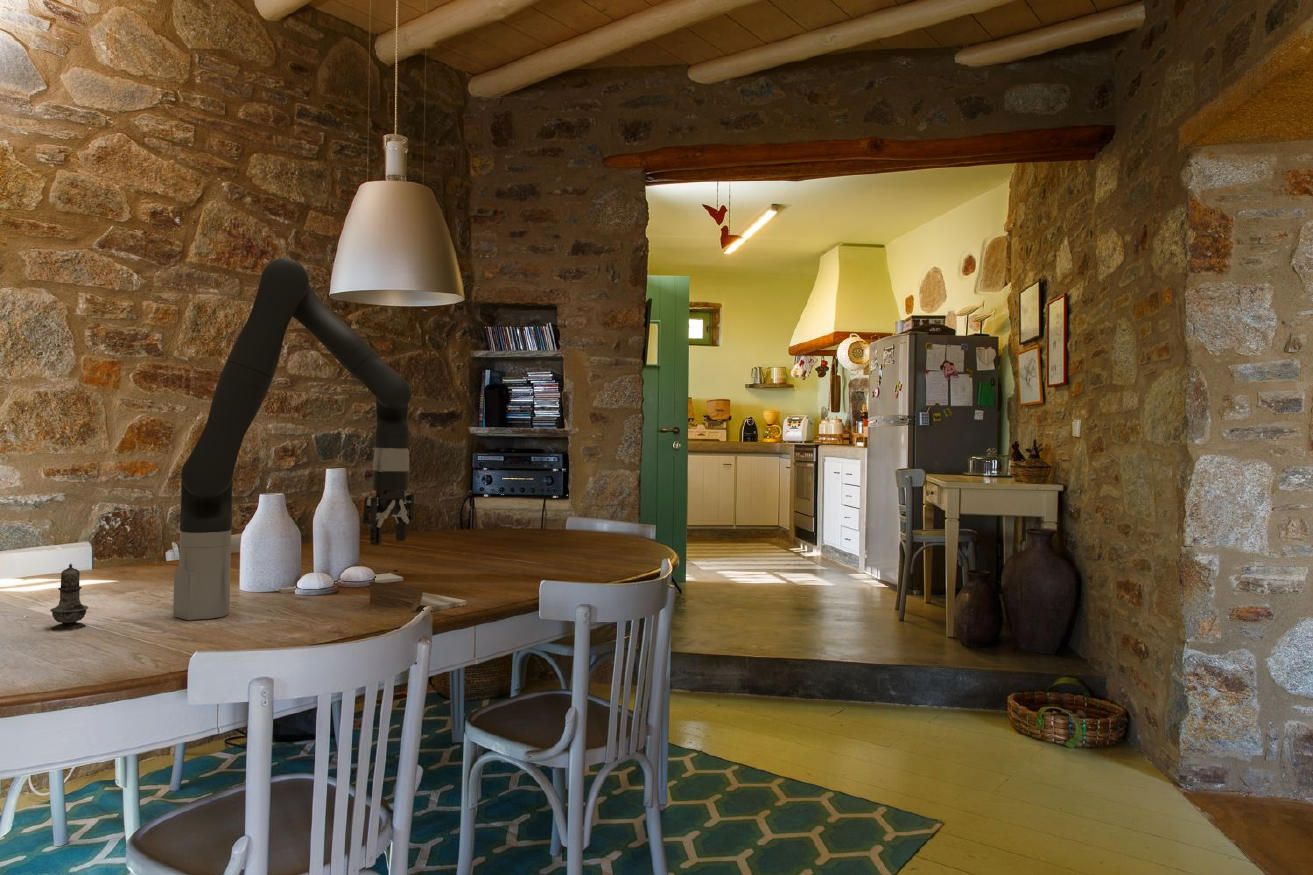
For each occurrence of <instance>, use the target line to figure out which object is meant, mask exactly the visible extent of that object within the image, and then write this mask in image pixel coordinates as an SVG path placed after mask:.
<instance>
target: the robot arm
mask: <svg viewBox="0 0 1313 875" xmlns="http://www.w3.org/2000/svg"><path fill="white" fill-rule="evenodd" d="M307 272H308V271H307V270H306V269H305V267H304V266H303V265H302V264H301V263H300V262H298V261H297V260H295V259H293V258H289V257H281V258H277V259H274V260H272V261H269V263H267V265H266V266H265V267H264V268H263V270H262V272H261V276H260V280H259V283H258V284H259V285H258V288H257V292H256V296H255V299H254V301H253V305H252V308H251V311H250V312H249V316H248V319H247V320H246V321H245V324H244V326H243V328H242V329H241V330H240V333H239V334H238V336H237V338H236V340H235V342H234V344H233V346H232V348H231V351H230V353H229V354H228V357H227V359H226V361H225V364H224V366H223V367H222V370H221V373H220V376H219V378H218V380H217V382H216V383H217V384H216V386H215V390H214V393H213V397H212V401H211V405H210V409H209V412H208V416H207V420H206V422H205V424H204V428H203V430H202V431H201V435H200V436H199V438H198V439H197V442H196V444H195V446H194V448H193V449H192V451H191V452H190V454H189V456H188V458H187V459H186V460H185V461H184V463H183V465H182V467H181V471H180V478H181V480H180V481H181V483H180V484H181V489H180V492H181V493H180V514H179V515H180V516H179V548H178V549H179V553H178V554H179V555H178V557H179V558H178V561H179V562H178V568H177V567H176V568H175V569H174V572H173V574H174V575H173V609H172V611H173V612H172V614H173V615H172V617H175V618H178V619H181V620H186V621H195V620H210V619H217V618H222V617H226V616H228V615H229V614H230V606H231V602H230V600H231V599H230V598H231V596H230V592H231V560H232V559H231V558H232V557H231V555H232V554H231V553H232V521H233V513H232V512H233V507H232V506H233V503H232V502H233V478H234V472H235V468H236V464H237V461H238V457H239V453H240V449H241V446H242V444H243V441H244V438H245V436H246V434H247V432H248V430H249V428H250V427H251V425H252V424H253V421H254V419H255V418H256V417H257V414H258V412H259V411H260V409H261V406H262V404H263V402H264V400H265V398H266V396H267V394H268V391H269V389H270V386H271V384H272V381H273V379H274V376H275V374H276V371H277V367H278V364H279V361H280V357H281V352H282V349H283V345H284V339H285V335H286V332H287V329H288V326H289V324H290V322H291V319H292V318H294V319H295V320H297V321H298V322H299V323H300V324H301V325H302V326H303V327H304V328H305V329H307V331H308V332H310V333H311V334H312V335H313V336H314V337H315V338H316V340H318V342H320V344H322V345H323V347H324V348H325V349H326V350H328V352H329V353H330V354H331V355H332V356H333V357H334V358H335V359H336V361H338V362H339V363H340V365H341V366H343V368H344V369H346V371H348V372H349V373H350V374H351V376H353V377H354V378H355V379H356V380H357V381H359V382H361V383H363V385H364V386H365V387H366V388H367V389H368V390H369V392H371V393H372V394H373V395H374V396H375V404H376V405H375V406H376V407H375V408H376V409H375V410H376V429H375V437H374V438H375V440H374V442H375V444H374V447H375V448H374V453H373V460H372V461H373V465H372V487H371V488H372V490H373V491H374V492H375V496H365V497H364V500H363V501H364V504H363V512H362V513H363V516H362V524H363V525H364V526H365V525H366V526H368V527H369V530H370V531H369V542H370V545H371V546H380V545H381V544H382V525H383V523H384V520H387V518H388V517H389V516H392V517H393V518H395V520H396V529H395V530H396V531H395V540H396V541H399V542H405V541H406V540H407V536H408V524H409V522H411V521H414V519H415V495H414V493H405V492H406V491H408V490H409V482H410V481H409V478H410V477H409V476H410V452H409V445H410V444H409V441H410V439H409V438H410V429H409V425H408V415H409V414H408V413H409V412H408V411H409V410H408V409H409V403H410V402H411V400H412V394H413V391H412V387H411V386H410V384H409V383H408V382H407V381H406V380H405V379H404V378H403V376H401V375H400V373H398V372H397V371H396V370H394V369H393V368H392V367H391V366H390V365H389V364H388V363H386V362H385V361H384V360H383V359H382V358H381V357H380V355H379V354H378V353H377V351H375V350H374V349H373V347H372V346H370V345H369V343H367V342H366V340H365V339H364V338H362V337H361V335H359V334H358V333H357V332H356V331H355V330H354V329H353V328H351V327H350V326H349V325H348V324H346V323H345V322H344V321H343V320H341V318H339V317H338V316H336V314H334V313H333V312H332V311H331V310H330V309H329V308H328V307H327V306H326V305H325V304H324V303H323V301H321V299H320V298H319V297H318V294H316V292H315V291H314V290H313V288H312V287H311V286H310V278H309V275H308V273H307ZM408 513H409V514H408ZM369 516H370V518H369Z"/></svg>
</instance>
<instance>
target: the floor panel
mask: <svg viewBox="0 0 1313 875" xmlns="http://www.w3.org/2000/svg"><path fill="white" fill-rule="evenodd" d="M467 603H468V601H467V600H464V599H460V598H455V597H449V596H444V595H439V594H433V593H428V592H423V596H422V599H421V603H420V606H418V607H417V609H416V610H420V611H423V610H422V609H423V608H424V607H426V606H431V607H432V608H433V610H434V612H439V611H443V610H449V609H454V608H459V607H463V605H464V606H467ZM458 606H459V607H458ZM453 607H454V608H453ZM435 610H436V611H435ZM438 610H439V611H438Z"/></svg>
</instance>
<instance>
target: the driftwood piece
mask: <svg viewBox="0 0 1313 875" xmlns="http://www.w3.org/2000/svg"><path fill="white" fill-rule="evenodd" d="M368 585H369V594H370V595H369V604H374V605H379V604H380V606H385V607H392V606H393V608H397V609H401V610H405V611H407V612H411V613H417V610H418V609H417V607H418V606H420V603H421V599H422V596H423V593H424V590H423V588H421V587H413V586H408V585H402V584H395V583H388V582H386V583H380V582H370V581H369V584H368Z"/></svg>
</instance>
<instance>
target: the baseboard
mask: <svg viewBox="0 0 1313 875" xmlns="http://www.w3.org/2000/svg"><path fill="white" fill-rule="evenodd" d="M393 572H395V573H399V571H398V569H393ZM399 574H401V575H402V573H399ZM374 575H375V576H376V578H375V582H380V583H393V582H394V583H395V582H404V577H403V576H401V575H397V574H394V573H391V572H388V571H386V573H381V574H380V573H378V574H374ZM335 583H337V582H335ZM295 590H296V586H294V587H287V588H280V589H279V592H278V593H280V594H285V593H296V592H295Z"/></svg>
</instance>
